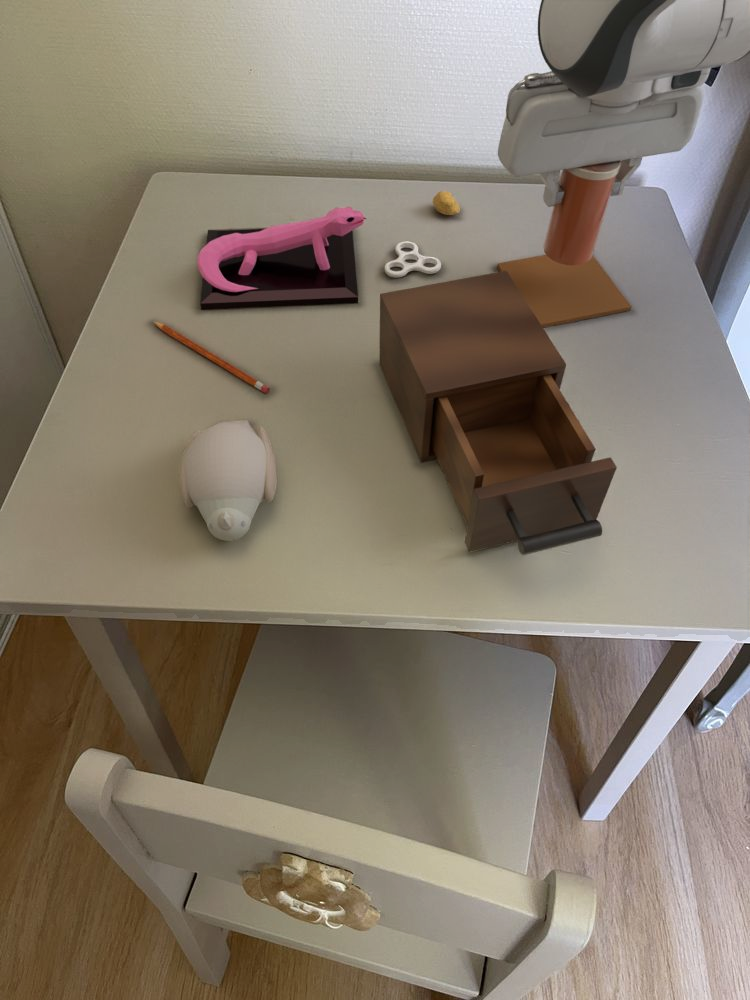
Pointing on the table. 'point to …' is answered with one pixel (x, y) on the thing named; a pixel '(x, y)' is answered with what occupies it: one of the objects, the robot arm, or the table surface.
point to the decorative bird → (228, 476)
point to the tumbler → (580, 212)
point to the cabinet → (458, 345)
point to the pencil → (213, 358)
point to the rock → (446, 203)
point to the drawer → (520, 465)
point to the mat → (565, 289)
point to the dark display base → (281, 264)
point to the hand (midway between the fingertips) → (582, 198)
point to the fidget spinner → (411, 266)
